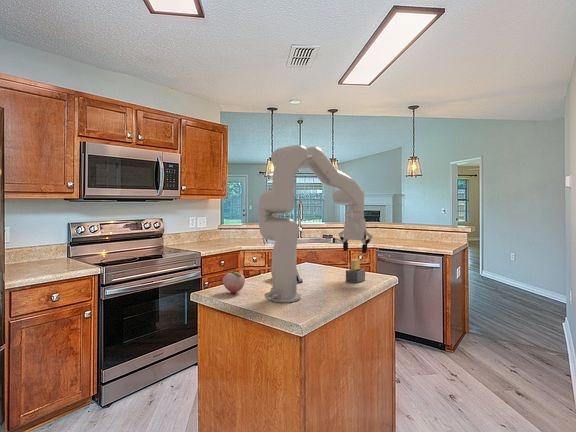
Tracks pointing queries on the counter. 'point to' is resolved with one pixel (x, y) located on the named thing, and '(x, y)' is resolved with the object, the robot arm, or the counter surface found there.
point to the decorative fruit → (233, 281)
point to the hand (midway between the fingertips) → (354, 251)
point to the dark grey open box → (355, 275)
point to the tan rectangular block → (355, 265)
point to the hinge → (297, 276)
